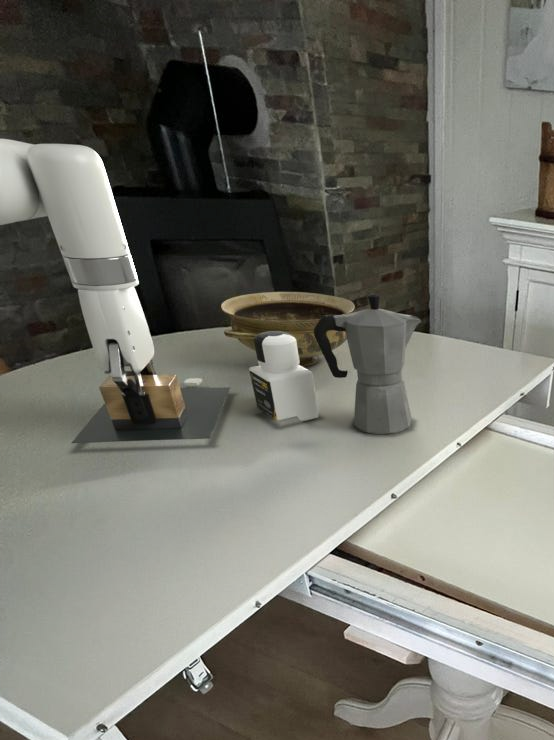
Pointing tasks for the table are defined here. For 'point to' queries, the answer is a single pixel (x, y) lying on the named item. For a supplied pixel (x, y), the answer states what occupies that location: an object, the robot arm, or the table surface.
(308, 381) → the medicine bottle
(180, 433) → the slate board
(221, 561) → the table surface
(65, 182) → the robot arm
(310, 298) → the ceramic bowl
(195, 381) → the chalk lump
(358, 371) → the coffeepot
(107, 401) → the eraser
